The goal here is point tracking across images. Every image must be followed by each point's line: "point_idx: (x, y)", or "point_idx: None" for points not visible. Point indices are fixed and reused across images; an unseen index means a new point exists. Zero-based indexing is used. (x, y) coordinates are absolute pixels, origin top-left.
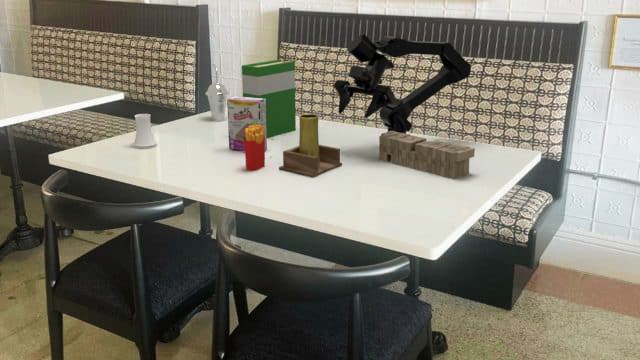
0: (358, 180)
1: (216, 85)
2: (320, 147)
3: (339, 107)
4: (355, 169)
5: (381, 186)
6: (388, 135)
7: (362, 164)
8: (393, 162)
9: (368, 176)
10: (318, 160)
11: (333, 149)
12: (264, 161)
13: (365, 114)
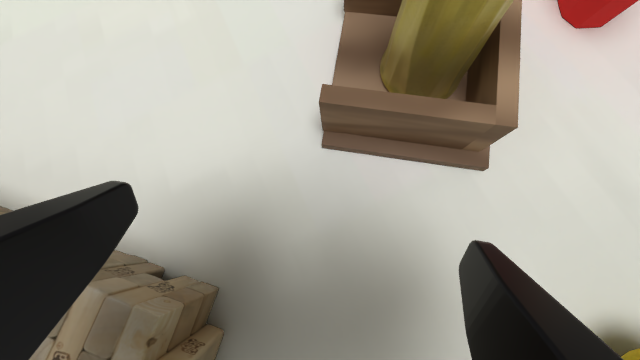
0: (210, 38)
1: None
2: (422, 98)
3: (524, 280)
4: (259, 130)
5: (132, 24)
6: (108, 354)
7: (258, 196)
8: (149, 263)
9: (194, 85)
10: (386, 63)
11: (346, 89)
12: (576, 2)
13: (109, 186)
